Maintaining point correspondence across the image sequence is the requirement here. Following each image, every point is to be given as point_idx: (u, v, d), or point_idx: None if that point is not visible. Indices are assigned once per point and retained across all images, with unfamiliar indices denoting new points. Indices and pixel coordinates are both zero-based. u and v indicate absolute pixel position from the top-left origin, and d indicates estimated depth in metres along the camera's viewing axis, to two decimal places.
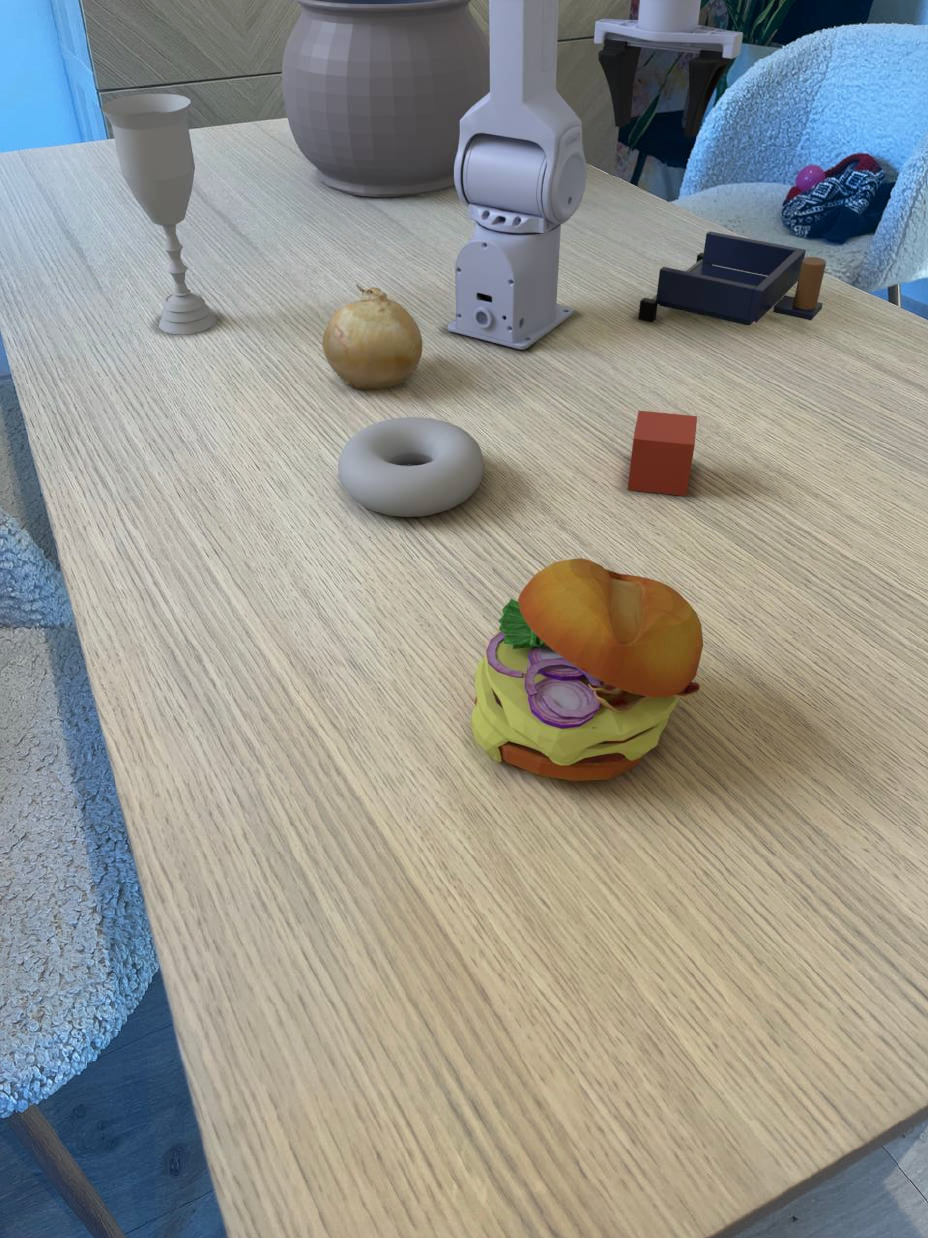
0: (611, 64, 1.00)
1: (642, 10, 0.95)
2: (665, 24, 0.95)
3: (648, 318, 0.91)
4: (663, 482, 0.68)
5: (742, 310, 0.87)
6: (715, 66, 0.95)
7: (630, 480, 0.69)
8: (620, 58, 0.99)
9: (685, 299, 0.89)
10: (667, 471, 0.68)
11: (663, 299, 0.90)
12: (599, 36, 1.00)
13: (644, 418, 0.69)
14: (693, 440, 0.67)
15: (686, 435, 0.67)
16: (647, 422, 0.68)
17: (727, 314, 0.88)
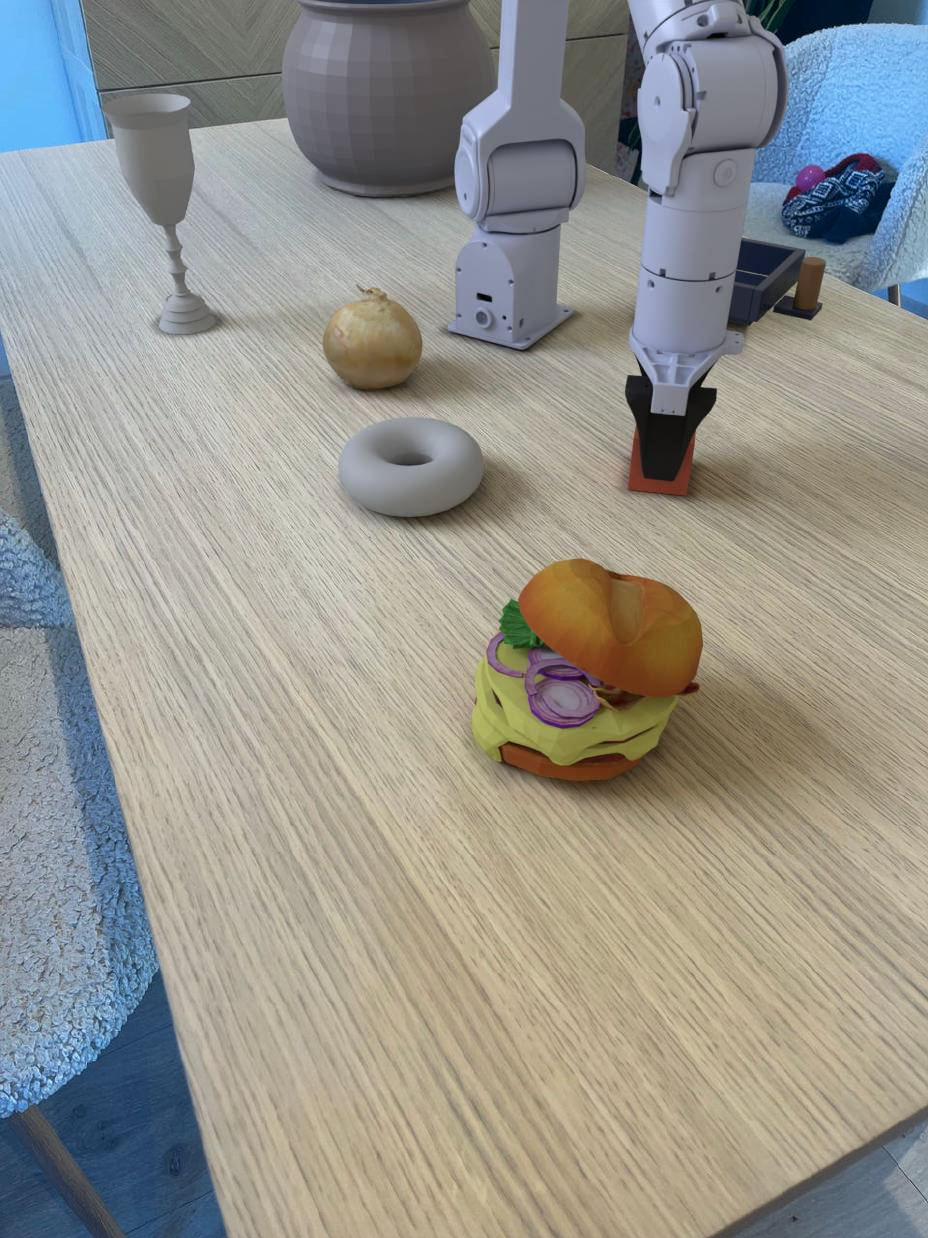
0: None
1: None
2: (635, 326, 0.63)
3: None
4: (663, 482, 0.68)
5: (742, 310, 0.87)
6: (634, 398, 0.62)
7: (630, 480, 0.69)
8: None
9: None
10: None
11: None
12: None
13: None
14: (693, 440, 0.67)
15: None
16: None
17: None
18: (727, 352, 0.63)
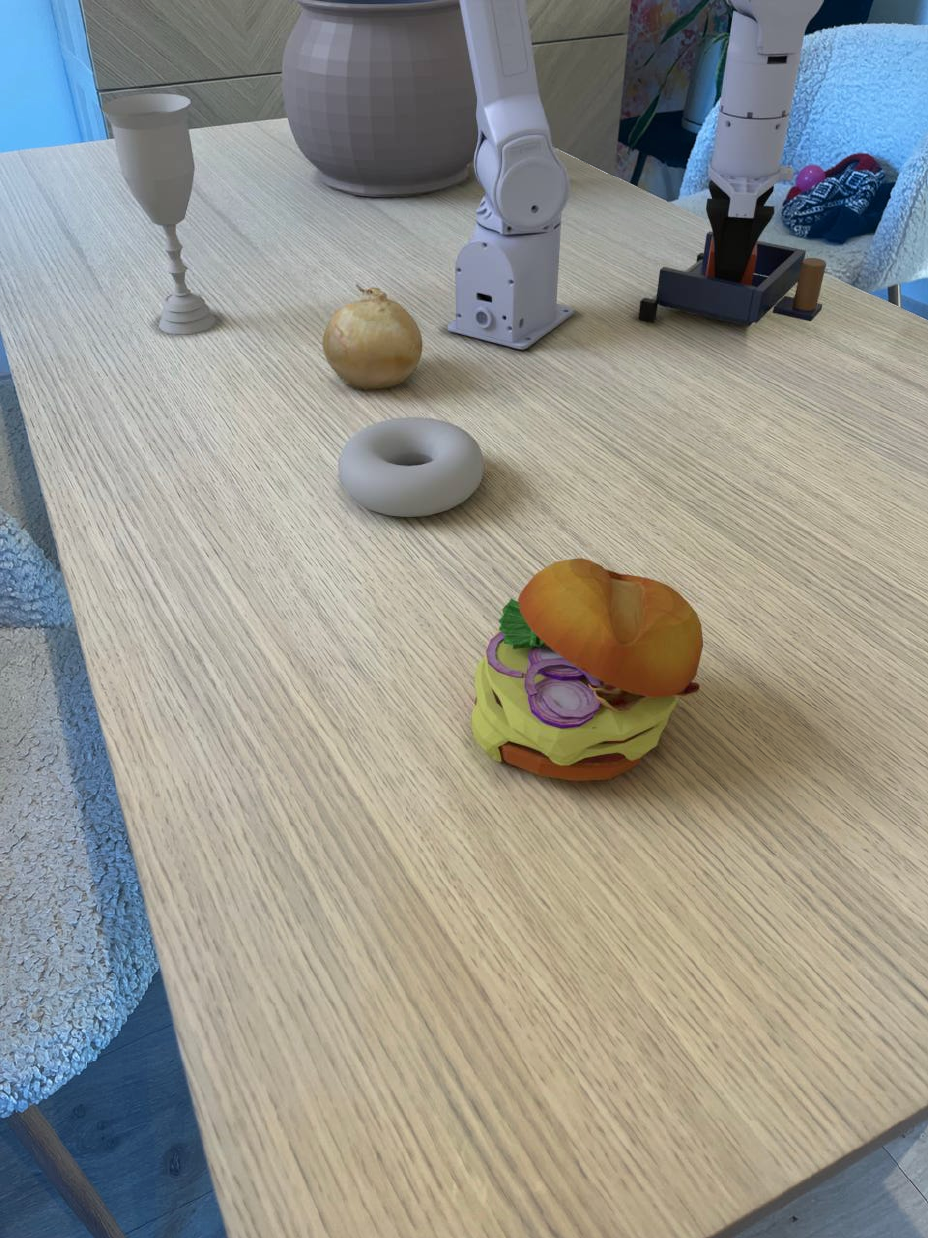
0: None
1: None
2: (713, 160, 0.85)
3: (648, 318, 0.91)
4: None
5: (742, 310, 0.87)
6: (714, 212, 0.84)
7: None
8: (716, 191, 0.90)
9: (685, 299, 0.89)
10: None
11: (663, 299, 0.90)
12: None
13: None
14: (755, 252, 0.89)
15: None
16: None
17: (727, 315, 0.88)
18: (782, 179, 0.85)
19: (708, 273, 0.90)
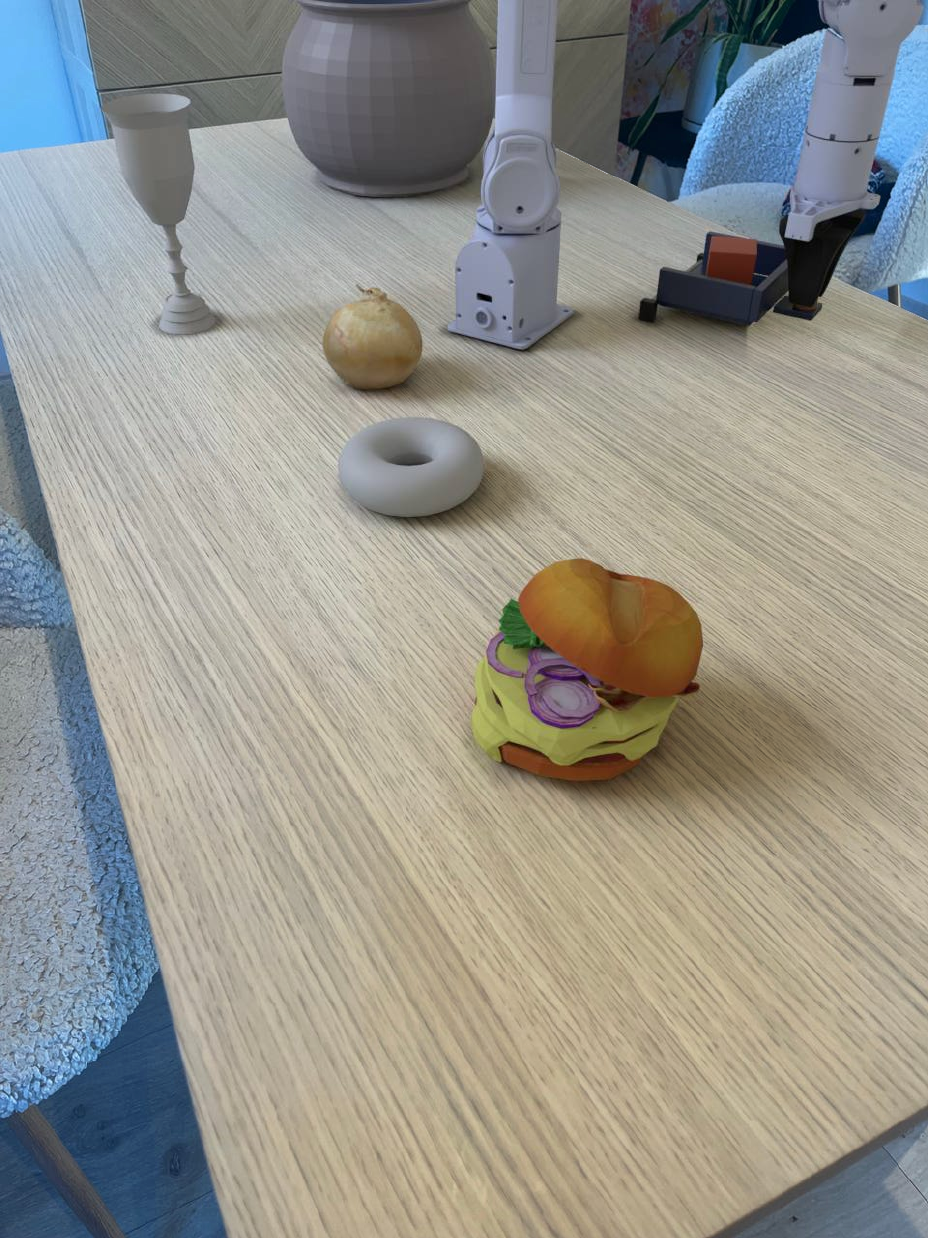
0: None
1: None
2: (795, 179, 0.83)
3: (648, 318, 0.91)
4: None
5: (742, 310, 0.87)
6: (784, 228, 0.83)
7: None
8: None
9: (685, 299, 0.89)
10: (734, 278, 0.90)
11: (663, 299, 0.90)
12: None
13: (716, 240, 0.91)
14: (755, 252, 0.89)
15: (750, 249, 0.89)
16: (719, 242, 0.91)
17: (727, 314, 0.88)
18: (862, 206, 0.82)
19: (708, 273, 0.90)
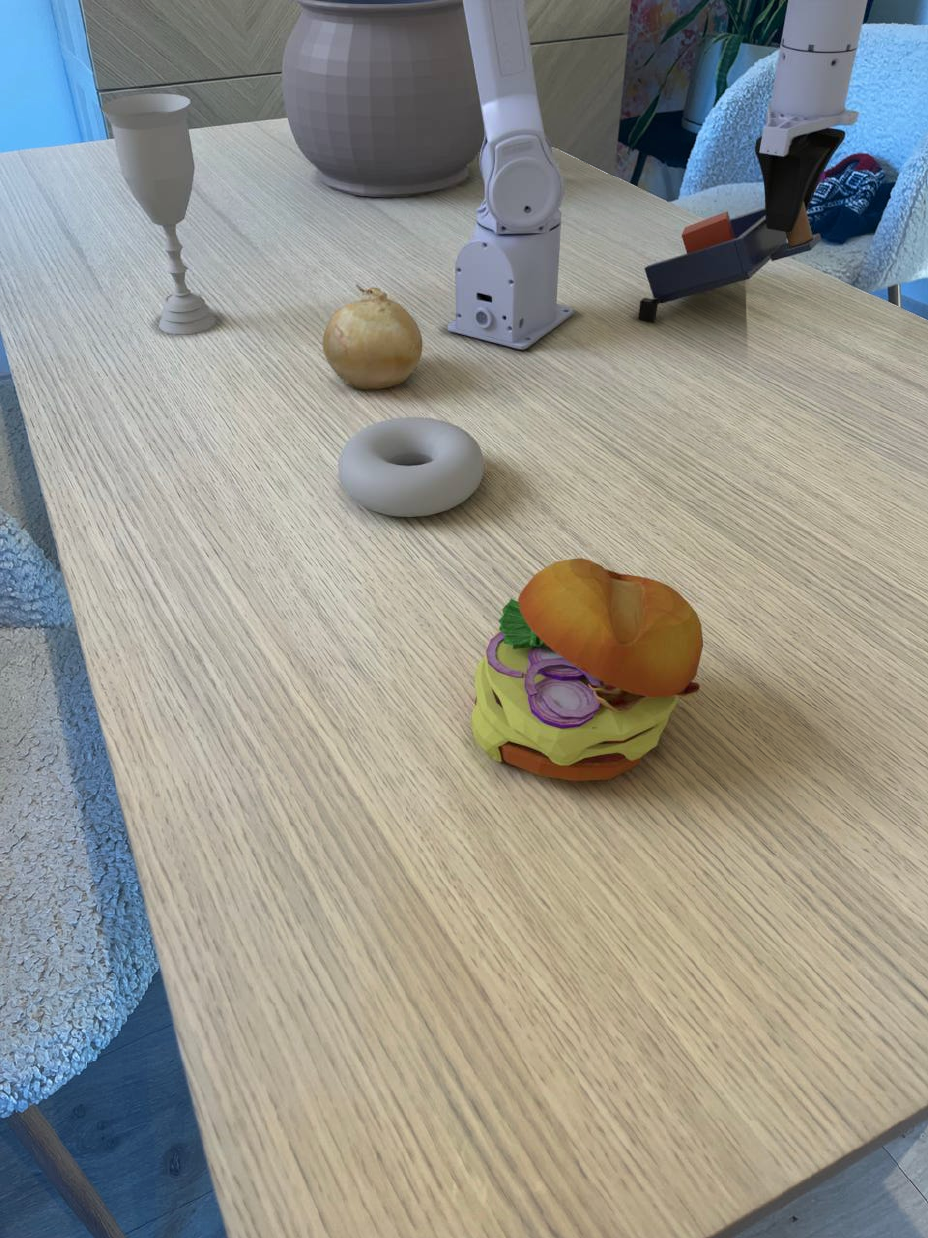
0: None
1: None
2: None
3: (648, 318, 0.91)
4: None
5: (733, 265, 0.85)
6: (760, 147, 0.81)
7: None
8: None
9: (679, 283, 0.89)
10: None
11: (660, 294, 0.90)
12: None
13: (688, 227, 0.92)
14: (725, 217, 0.88)
15: (719, 218, 0.89)
16: (691, 227, 0.91)
17: (722, 277, 0.86)
18: (840, 122, 0.79)
19: None
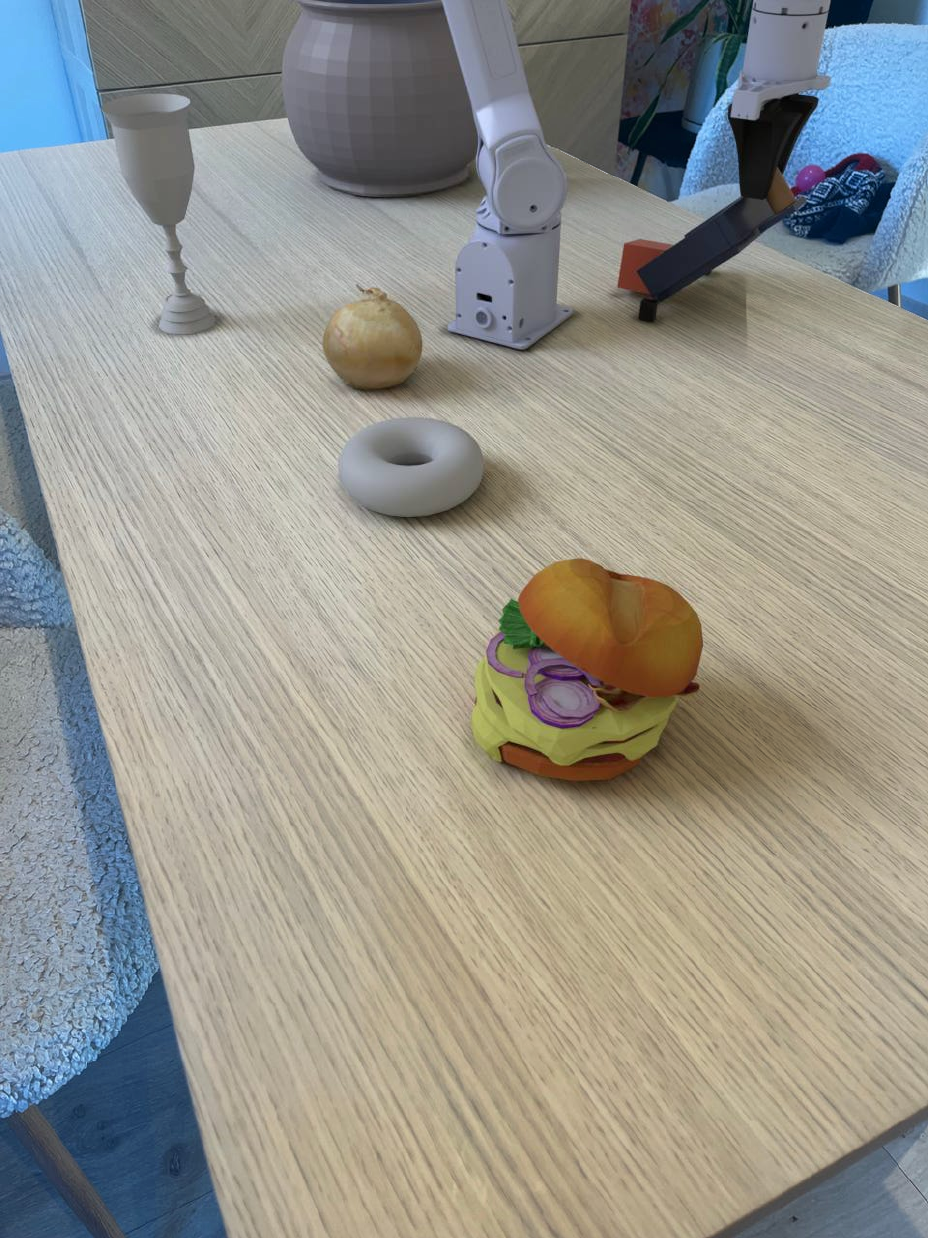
0: None
1: None
2: None
3: (648, 318, 0.91)
4: None
5: (719, 243, 0.85)
6: None
7: None
8: None
9: (672, 276, 0.89)
10: (643, 264, 0.93)
11: (657, 292, 0.90)
12: None
13: None
14: (626, 243, 0.94)
15: None
16: None
17: (711, 257, 0.86)
18: (812, 87, 0.79)
19: (636, 289, 0.94)
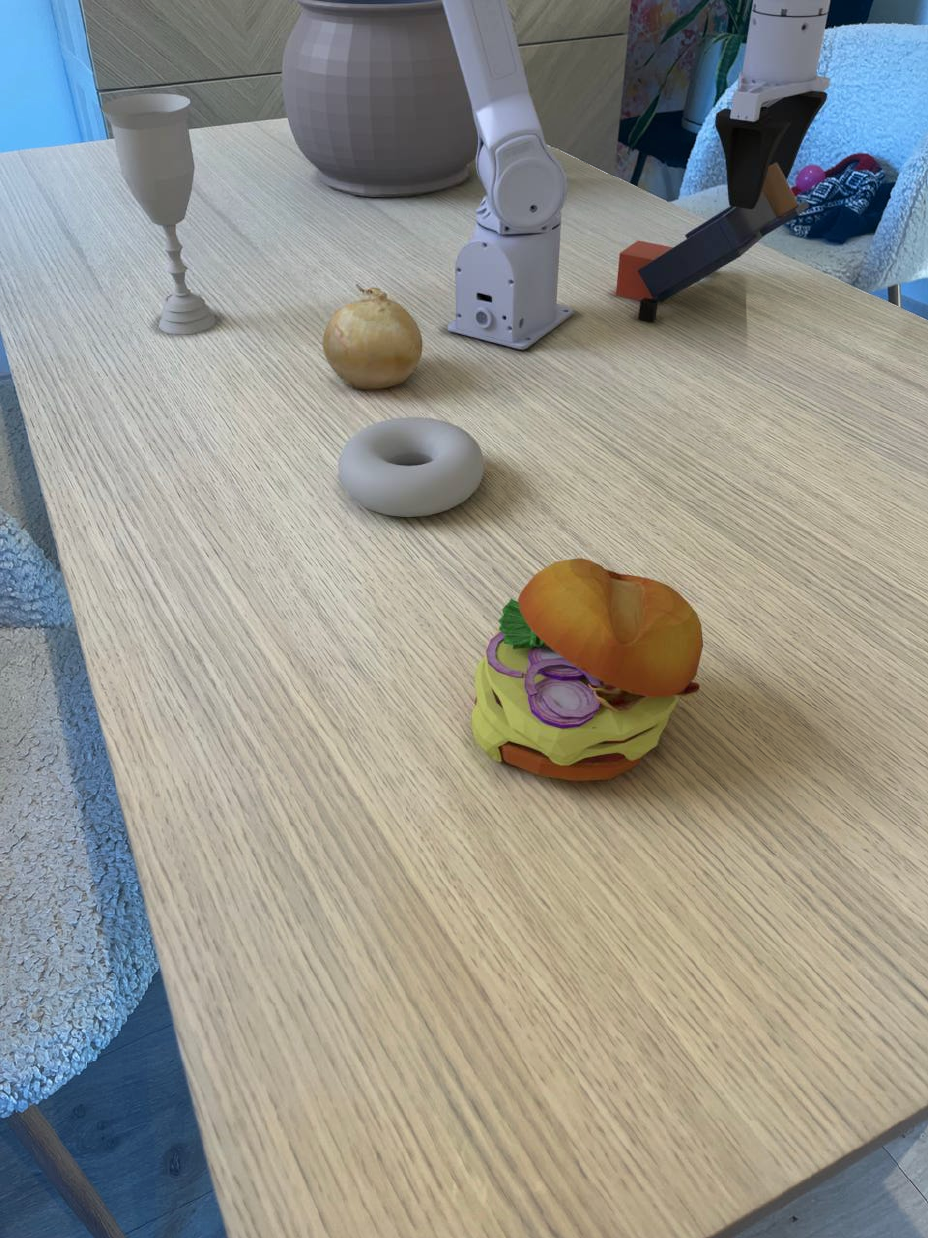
0: None
1: None
2: None
3: (648, 318, 0.91)
4: None
5: (721, 245, 0.85)
6: (720, 121, 0.79)
7: None
8: None
9: (673, 277, 0.89)
10: None
11: (657, 292, 0.90)
12: None
13: None
14: (622, 252, 0.94)
15: None
16: None
17: (713, 259, 0.86)
18: (811, 88, 0.79)
19: (634, 298, 0.95)
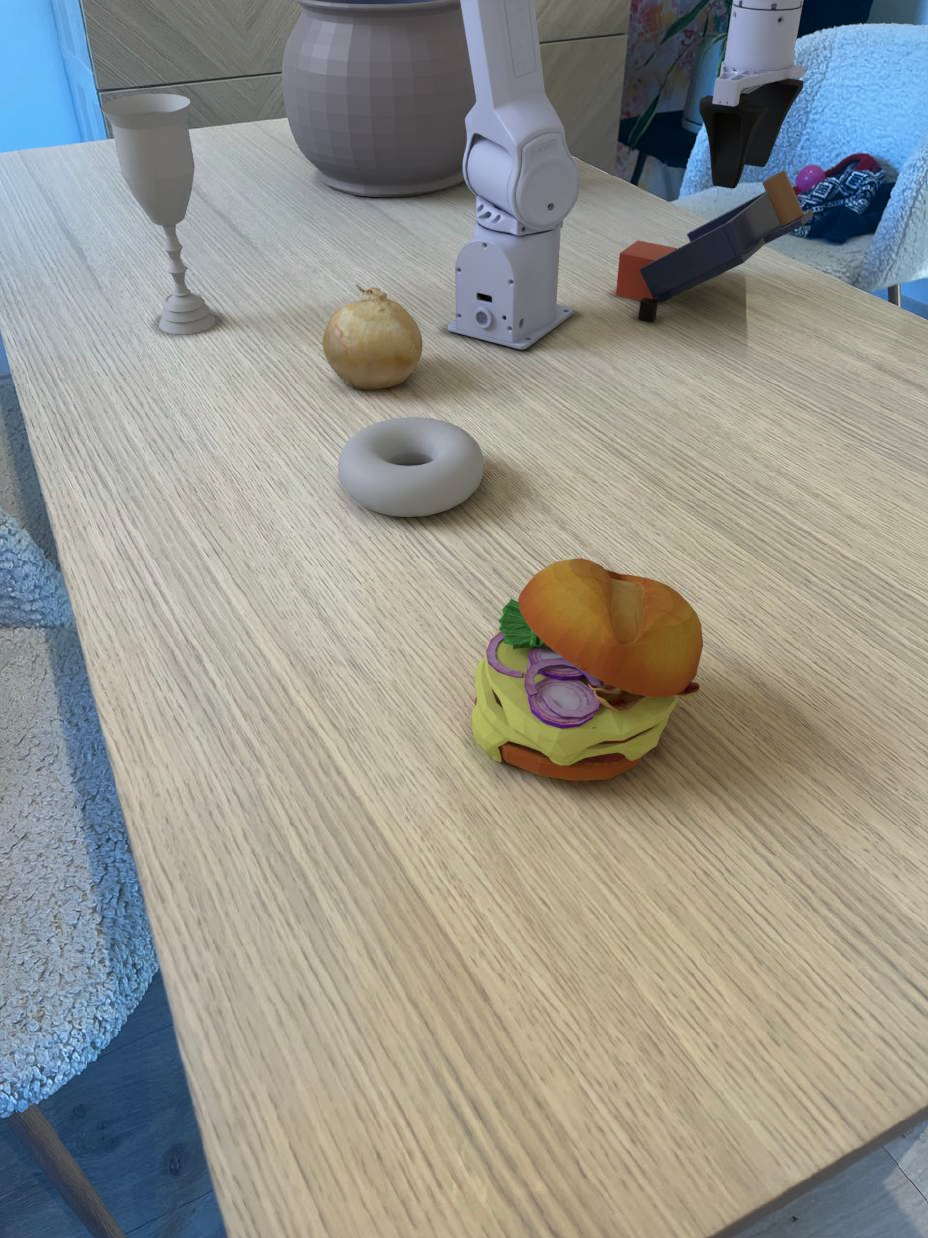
0: None
1: None
2: (725, 54, 0.88)
3: (648, 318, 0.91)
4: None
5: (725, 251, 0.85)
6: (703, 106, 0.86)
7: None
8: None
9: (675, 279, 0.89)
10: (640, 273, 0.93)
11: (658, 292, 0.90)
12: None
13: None
14: (622, 252, 0.94)
15: None
16: None
17: (716, 264, 0.86)
18: (787, 76, 0.86)
19: (634, 298, 0.95)
